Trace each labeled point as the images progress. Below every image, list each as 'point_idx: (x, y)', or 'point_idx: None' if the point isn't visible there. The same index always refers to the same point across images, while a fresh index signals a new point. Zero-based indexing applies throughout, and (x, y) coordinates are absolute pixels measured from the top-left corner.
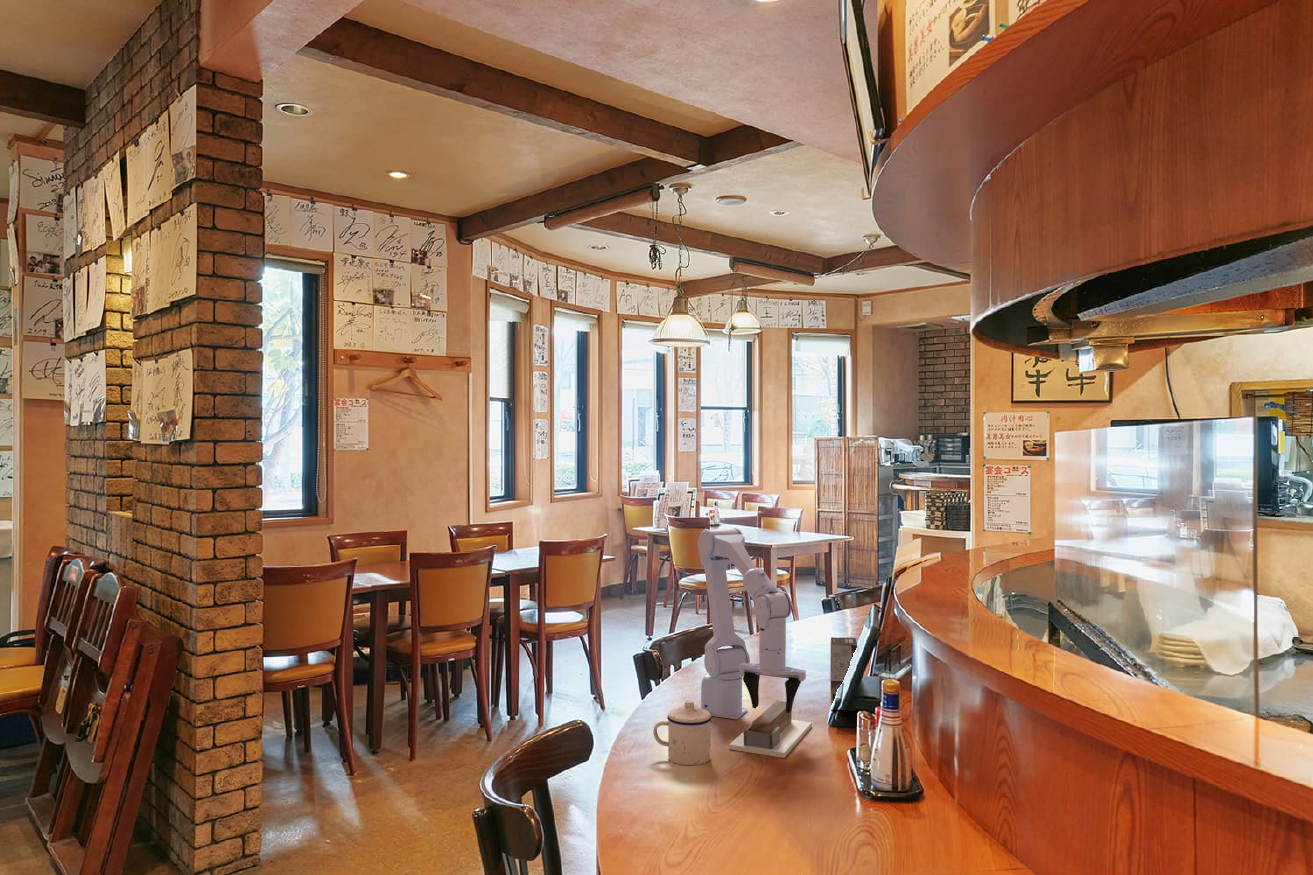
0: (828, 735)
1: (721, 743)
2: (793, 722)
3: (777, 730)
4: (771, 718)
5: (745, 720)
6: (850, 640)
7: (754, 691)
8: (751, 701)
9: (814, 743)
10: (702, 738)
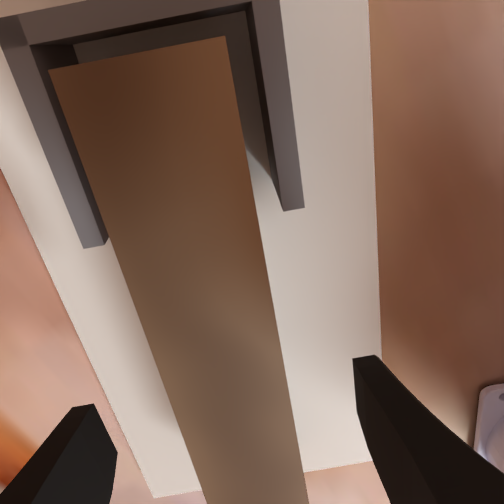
0: (35, 441)
1: (445, 15)
2: None
3: (63, 188)
4: (148, 273)
5: (440, 401)
6: None
7: (418, 489)
8: (405, 387)
9: (6, 333)
10: None
